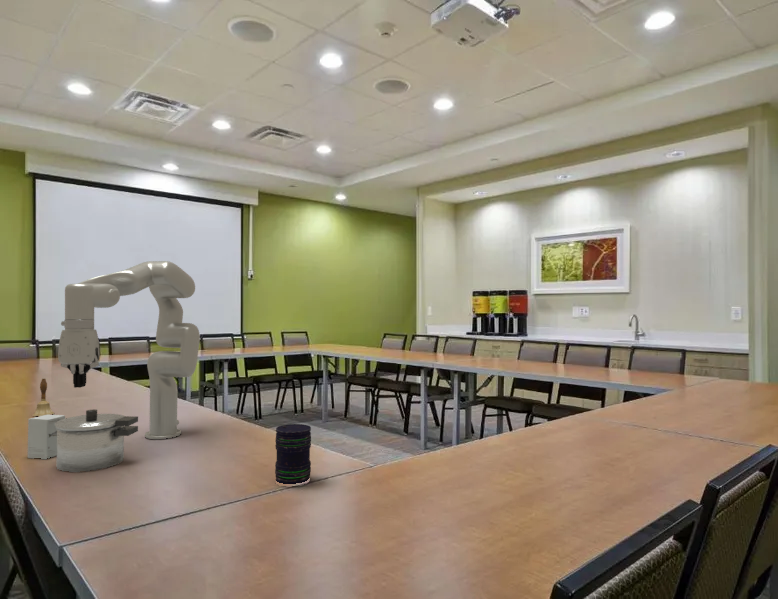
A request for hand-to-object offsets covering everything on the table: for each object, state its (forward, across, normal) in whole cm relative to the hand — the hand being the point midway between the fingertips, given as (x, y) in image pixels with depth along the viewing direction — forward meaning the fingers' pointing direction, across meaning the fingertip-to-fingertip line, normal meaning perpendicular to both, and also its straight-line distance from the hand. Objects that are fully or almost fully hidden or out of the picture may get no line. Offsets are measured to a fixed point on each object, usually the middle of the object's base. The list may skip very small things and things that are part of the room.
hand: (79, 386), depth 154 cm
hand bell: (+26, -61, +74) cm, 99 cm away
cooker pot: (+25, +2, +7) cm, 26 cm away
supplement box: (+25, -19, +13) cm, 34 cm away
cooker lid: (+13, +2, +6) cm, 14 cm away
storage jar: (+25, +65, -9) cm, 70 cm away
